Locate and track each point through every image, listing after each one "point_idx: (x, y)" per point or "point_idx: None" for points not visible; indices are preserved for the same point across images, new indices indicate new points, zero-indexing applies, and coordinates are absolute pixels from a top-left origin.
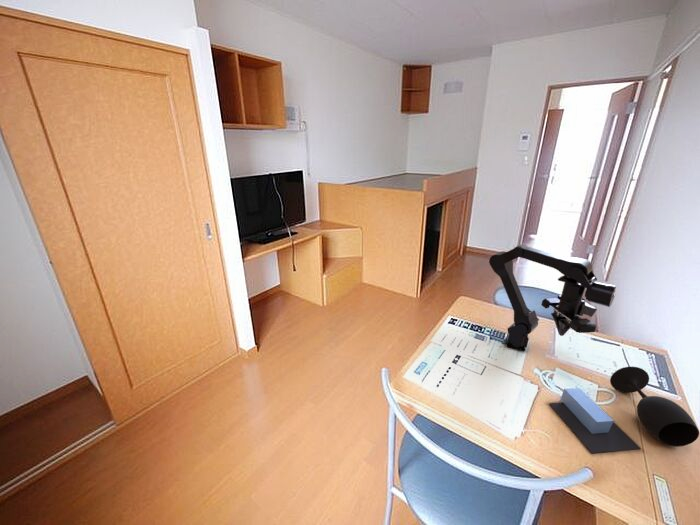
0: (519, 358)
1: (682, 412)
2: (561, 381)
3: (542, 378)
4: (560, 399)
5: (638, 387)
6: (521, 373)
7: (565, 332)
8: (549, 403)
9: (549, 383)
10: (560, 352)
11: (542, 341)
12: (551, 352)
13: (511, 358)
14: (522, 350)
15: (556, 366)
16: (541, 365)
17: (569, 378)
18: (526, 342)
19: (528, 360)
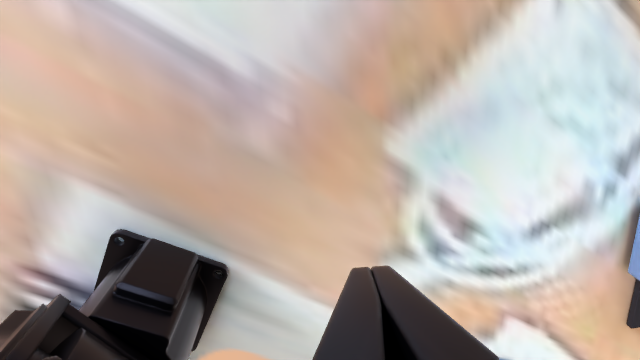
0: (299, 317)
1: None
2: (504, 185)
3: (467, 273)
4: (629, 273)
5: None
6: None
7: (432, 313)
8: (631, 327)
9: (507, 257)
10: (203, 2)
11: (63, 74)
12: (213, 82)
13: (301, 354)
14: (224, 280)
15: (372, 137)
16: (361, 227)
17: (487, 120)
18: (184, 288)
19: (316, 278)
